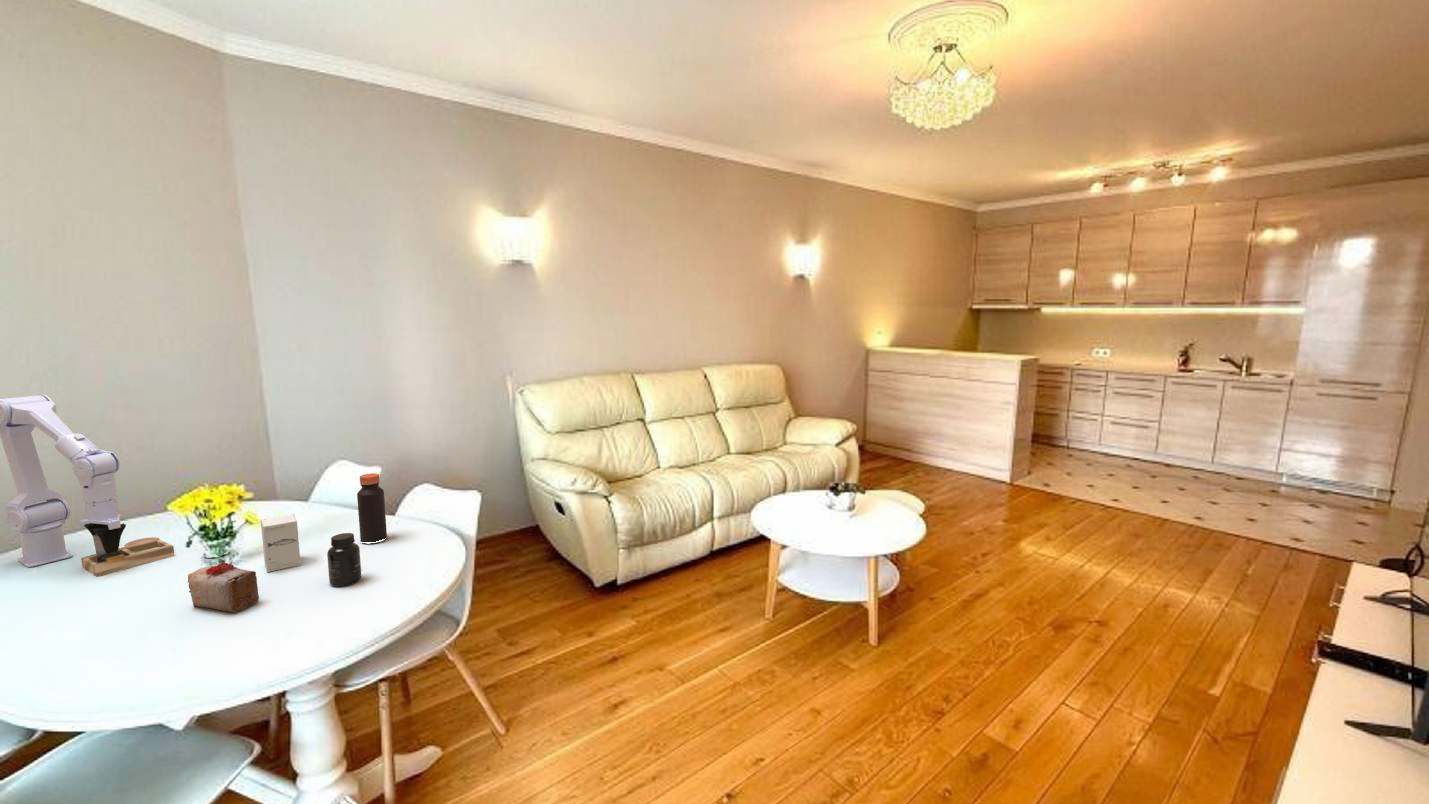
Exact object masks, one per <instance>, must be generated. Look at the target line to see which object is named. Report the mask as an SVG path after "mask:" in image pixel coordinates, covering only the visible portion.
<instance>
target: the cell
mask: <svg viewBox="0 0 1429 804" xmlns="http://www.w3.org/2000/svg"><path fill="white" fill-rule="evenodd" d="M92 539H93V543H94V549H95V554H96V555H97V560H98V563H101V562H105V561H106V558H109V557H113V556H117V555H120V554H119V549H118V551H115V552H111V553H106V552H105V550H104V548H103V545H102V543H101V540H100V538H99V537H98V535H97V534H94V535H93V536H92Z"/></svg>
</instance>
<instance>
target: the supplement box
mask: <svg viewBox="0 0 1429 804" xmlns="http://www.w3.org/2000/svg"><path fill="white" fill-rule="evenodd" d="M260 528H261V537H262V549H263V558H264V559H263V560H264V565H265V570H266V573H270V572H273V571H274V572H275V571H278V570H283V569H288V568H293V567H297V566H298V567H299V566H301V565H302V564H301V552H300V542H299V532H298V531H299V530H298V520H297V518H296V514H295V513H293V514H287V515H281V516H275V517H267V518H262V519H260Z"/></svg>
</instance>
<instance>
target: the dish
mask: <svg viewBox="0 0 1429 804" xmlns="http://www.w3.org/2000/svg"><path fill="white" fill-rule="evenodd" d="M155 539H160V538H159V537H156V536H154V537H151V536H150V537H143V538H139V539H138V538H137V539H134V540H131V541H129V542H127V543H124V545H123V547H126V546H131V545H135V544H139V543H143V542H147V541H151V540H155Z"/></svg>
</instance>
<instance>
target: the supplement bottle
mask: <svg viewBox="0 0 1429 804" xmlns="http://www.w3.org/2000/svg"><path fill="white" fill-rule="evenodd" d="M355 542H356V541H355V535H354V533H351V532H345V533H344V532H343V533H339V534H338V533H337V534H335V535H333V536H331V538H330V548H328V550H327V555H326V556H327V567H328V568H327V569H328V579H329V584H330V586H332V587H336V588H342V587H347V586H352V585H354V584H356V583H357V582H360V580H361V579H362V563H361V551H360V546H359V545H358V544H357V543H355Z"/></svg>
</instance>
